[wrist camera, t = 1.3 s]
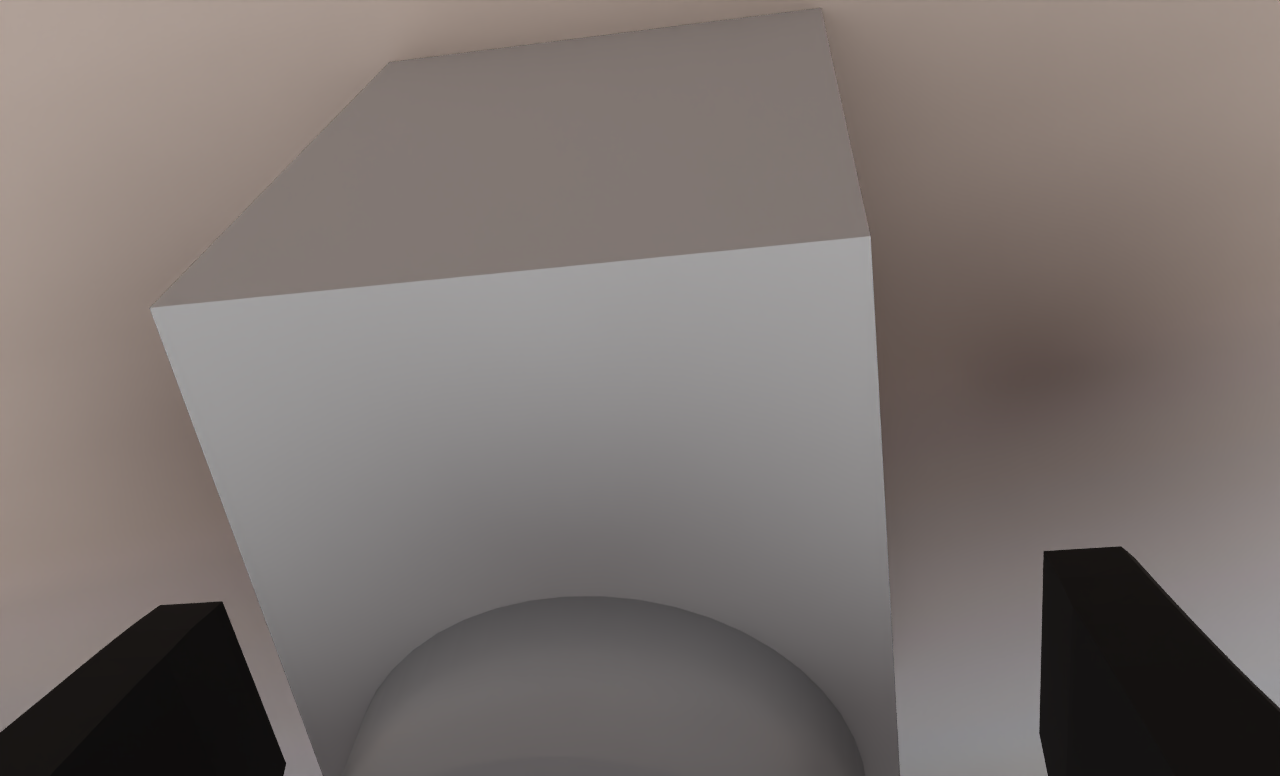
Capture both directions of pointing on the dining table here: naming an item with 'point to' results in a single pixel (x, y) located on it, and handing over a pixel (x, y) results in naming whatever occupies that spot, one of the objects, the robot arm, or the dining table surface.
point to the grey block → (563, 414)
